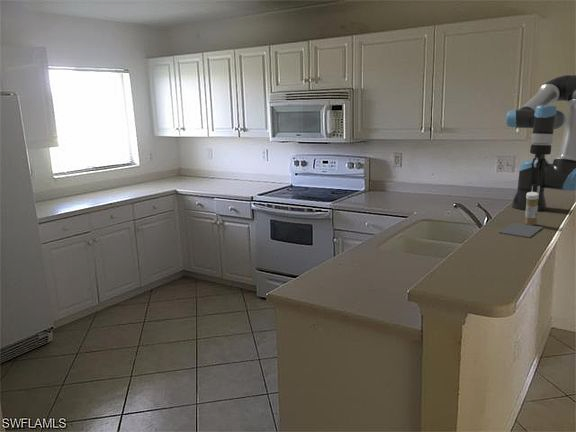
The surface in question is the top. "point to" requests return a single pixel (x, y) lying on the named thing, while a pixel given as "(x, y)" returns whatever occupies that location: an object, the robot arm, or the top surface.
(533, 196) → the sprinkles bottle
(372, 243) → the top surface
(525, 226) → the mat
